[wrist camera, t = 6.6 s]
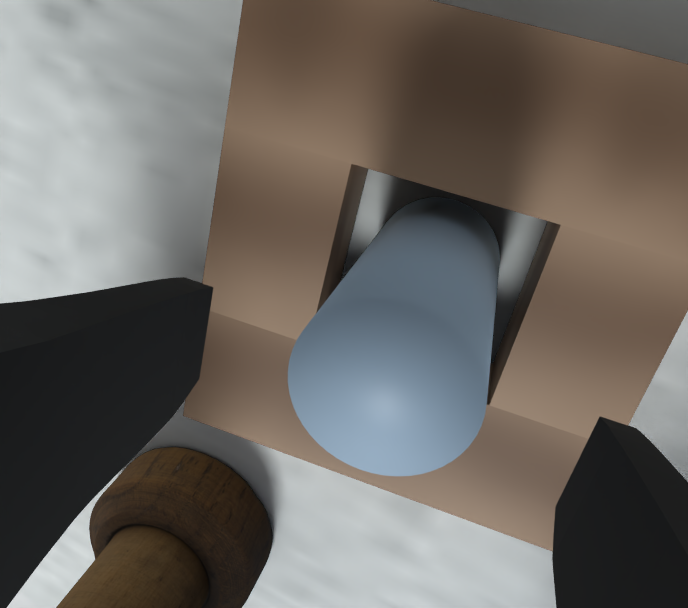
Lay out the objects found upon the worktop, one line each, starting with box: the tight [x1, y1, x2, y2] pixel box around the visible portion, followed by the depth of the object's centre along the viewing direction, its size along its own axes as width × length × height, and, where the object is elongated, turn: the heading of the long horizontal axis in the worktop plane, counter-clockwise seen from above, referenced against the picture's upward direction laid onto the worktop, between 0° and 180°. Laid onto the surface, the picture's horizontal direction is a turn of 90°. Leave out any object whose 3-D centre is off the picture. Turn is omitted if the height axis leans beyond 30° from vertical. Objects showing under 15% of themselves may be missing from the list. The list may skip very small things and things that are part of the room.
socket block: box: [183, 0, 688, 551], centre depth 17 cm, size 13×12×2 cm
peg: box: [288, 197, 500, 476], centre depth 15 cm, size 4×4×8 cm
